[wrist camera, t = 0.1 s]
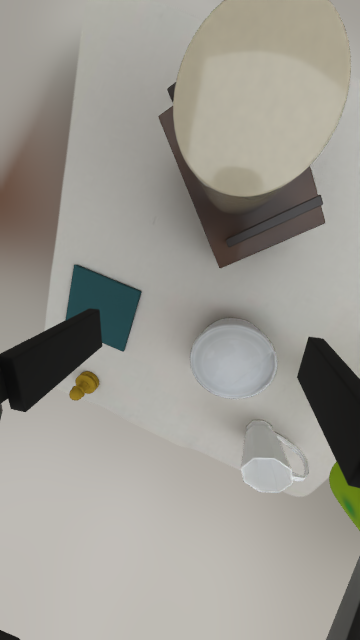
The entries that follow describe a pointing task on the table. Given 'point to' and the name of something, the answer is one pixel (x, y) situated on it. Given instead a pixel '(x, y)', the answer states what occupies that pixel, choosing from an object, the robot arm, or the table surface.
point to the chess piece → (84, 385)
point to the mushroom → (345, 494)
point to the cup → (268, 459)
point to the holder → (254, 228)
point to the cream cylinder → (260, 97)
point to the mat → (104, 304)
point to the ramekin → (233, 359)
